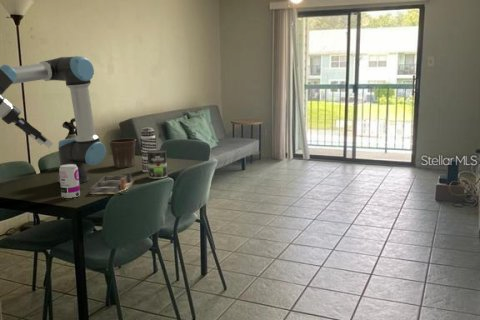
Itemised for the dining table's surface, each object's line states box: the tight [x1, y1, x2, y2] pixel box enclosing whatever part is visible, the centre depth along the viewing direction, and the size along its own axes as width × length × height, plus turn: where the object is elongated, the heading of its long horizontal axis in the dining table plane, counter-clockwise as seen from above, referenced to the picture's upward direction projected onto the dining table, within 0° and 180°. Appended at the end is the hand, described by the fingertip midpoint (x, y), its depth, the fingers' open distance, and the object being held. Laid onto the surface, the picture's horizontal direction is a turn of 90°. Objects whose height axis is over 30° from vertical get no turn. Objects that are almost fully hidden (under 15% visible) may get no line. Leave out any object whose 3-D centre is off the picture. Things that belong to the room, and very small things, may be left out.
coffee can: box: [147, 149, 168, 180], centre depth 259 cm, size 10×10×14 cm
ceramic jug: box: [62, 117, 78, 140], centre depth 291 cm, size 17×15×30 cm
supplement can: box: [58, 164, 81, 199], centre depth 219 cm, size 8×8×15 cm
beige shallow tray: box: [89, 170, 136, 195], centre depth 236 cm, size 16×27×6 cm, turn 2°
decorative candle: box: [139, 126, 157, 173], centre depth 274 cm, size 9×9×25 cm
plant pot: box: [108, 137, 137, 169], centre depth 290 cm, size 16×16×16 cm
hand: (47, 144), depth 211 cm, fingers open, 13 cm apart
